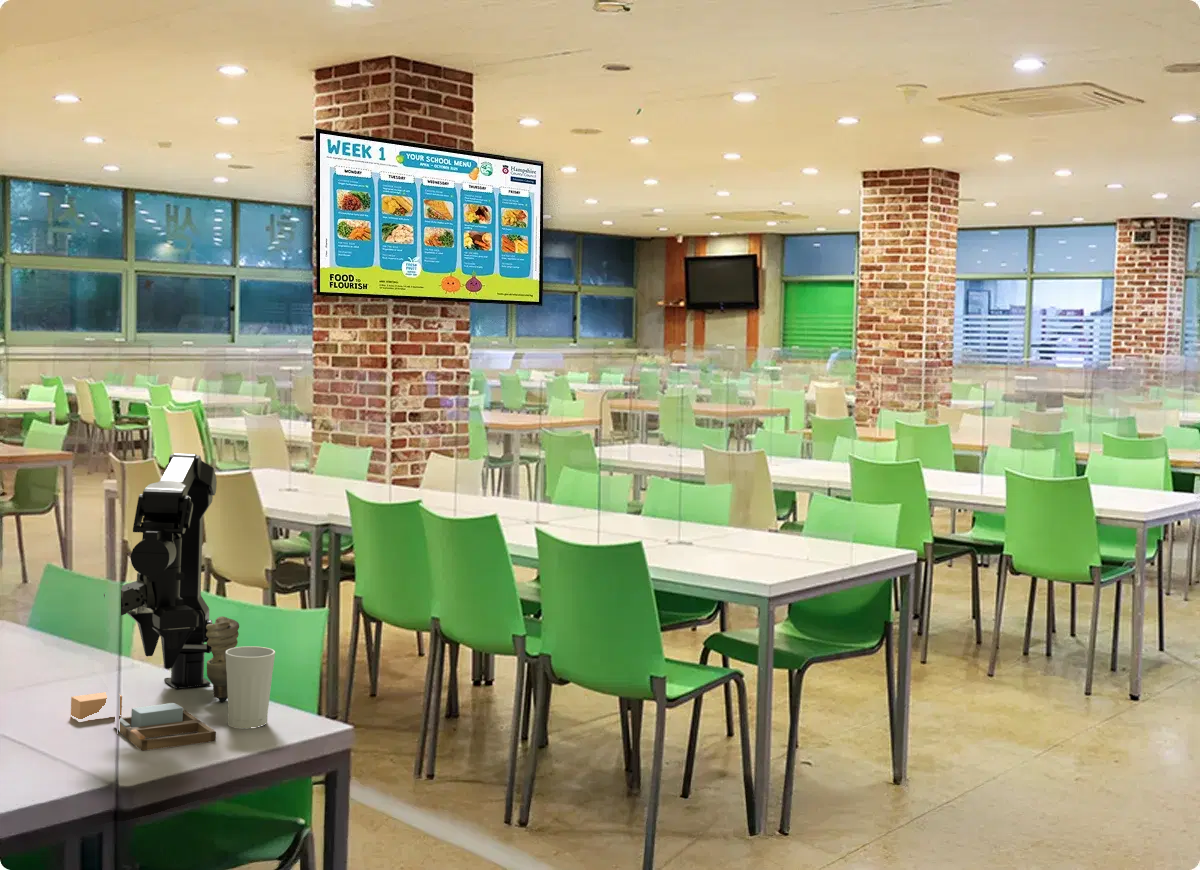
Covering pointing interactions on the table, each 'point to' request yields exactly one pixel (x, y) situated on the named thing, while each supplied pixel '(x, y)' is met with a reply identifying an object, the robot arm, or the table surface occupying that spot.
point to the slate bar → (156, 715)
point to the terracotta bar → (89, 704)
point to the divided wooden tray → (167, 733)
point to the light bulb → (220, 653)
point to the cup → (248, 685)
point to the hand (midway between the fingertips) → (158, 662)
